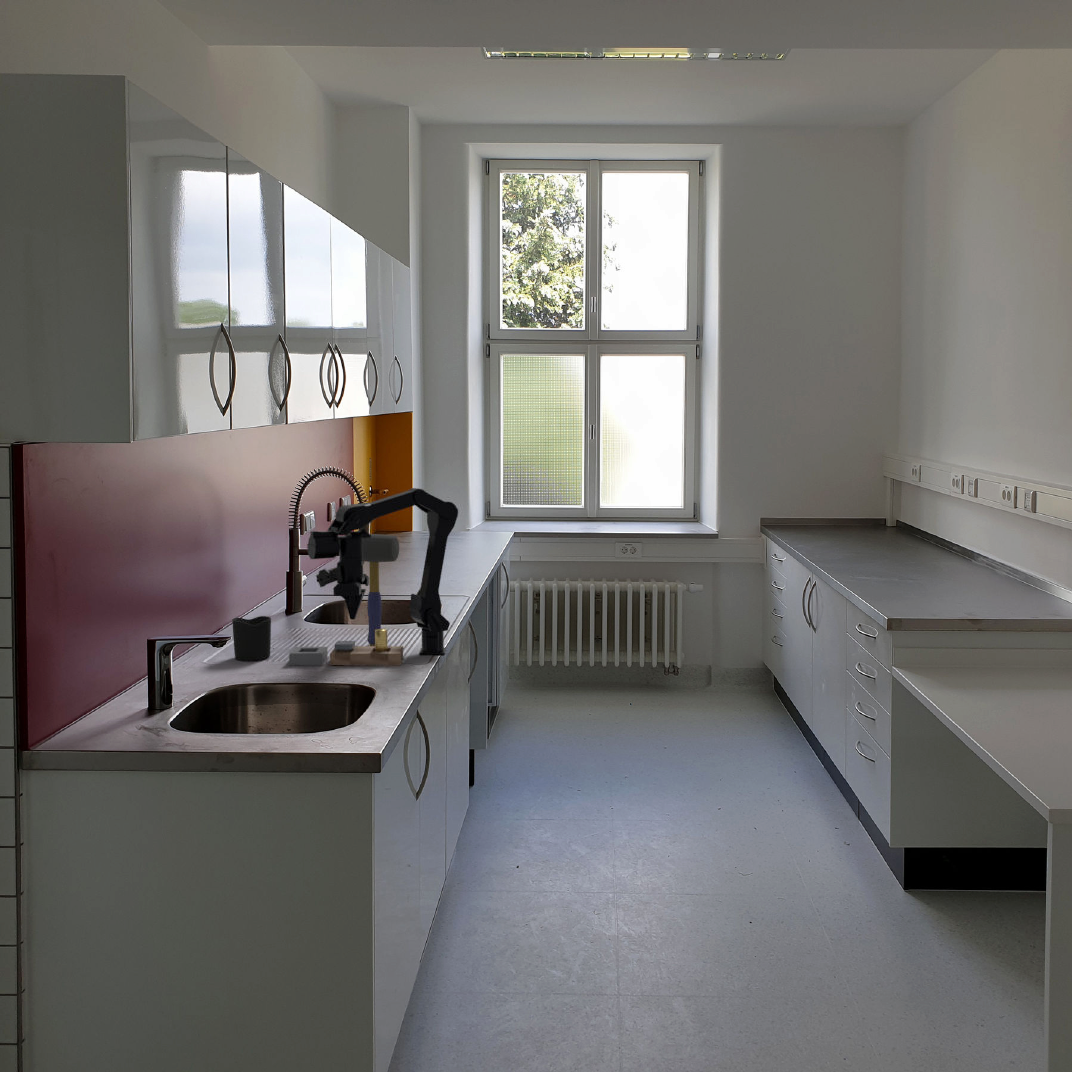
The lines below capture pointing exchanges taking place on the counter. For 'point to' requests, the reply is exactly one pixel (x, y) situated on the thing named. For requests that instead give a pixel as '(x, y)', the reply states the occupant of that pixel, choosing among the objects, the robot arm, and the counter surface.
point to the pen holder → (252, 638)
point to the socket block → (367, 656)
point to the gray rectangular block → (344, 645)
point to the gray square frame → (308, 656)
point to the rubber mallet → (377, 575)
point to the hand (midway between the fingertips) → (352, 619)
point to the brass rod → (381, 640)
